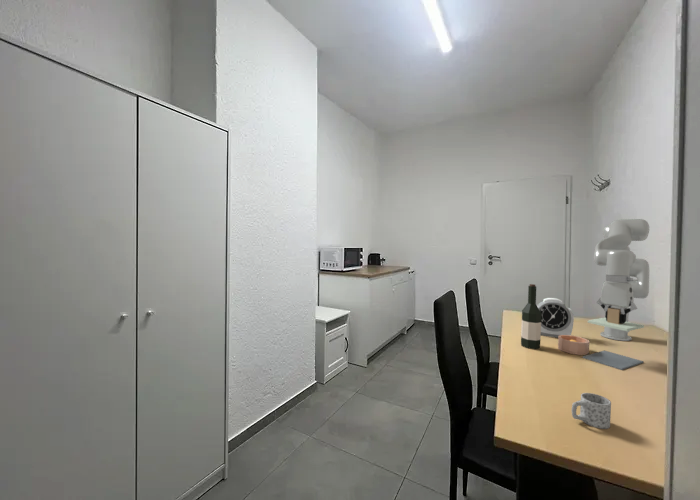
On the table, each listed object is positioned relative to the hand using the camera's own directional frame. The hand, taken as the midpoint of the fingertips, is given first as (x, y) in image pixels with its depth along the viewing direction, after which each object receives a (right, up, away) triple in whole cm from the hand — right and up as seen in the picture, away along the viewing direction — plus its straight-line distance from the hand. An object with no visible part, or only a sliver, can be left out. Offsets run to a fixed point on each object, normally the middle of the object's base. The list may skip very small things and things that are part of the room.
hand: (615, 321), depth 133 cm
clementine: (-10, -13, +11) cm, 20 cm away
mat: (-1, -17, 0) cm, 17 cm away
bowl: (-10, -16, +12) cm, 22 cm away
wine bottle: (-27, -16, +17) cm, 35 cm away
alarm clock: (-5, -16, +34) cm, 38 cm away
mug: (-46, -18, -45) cm, 67 cm away
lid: (0, -2, 0) cm, 2 cm away
